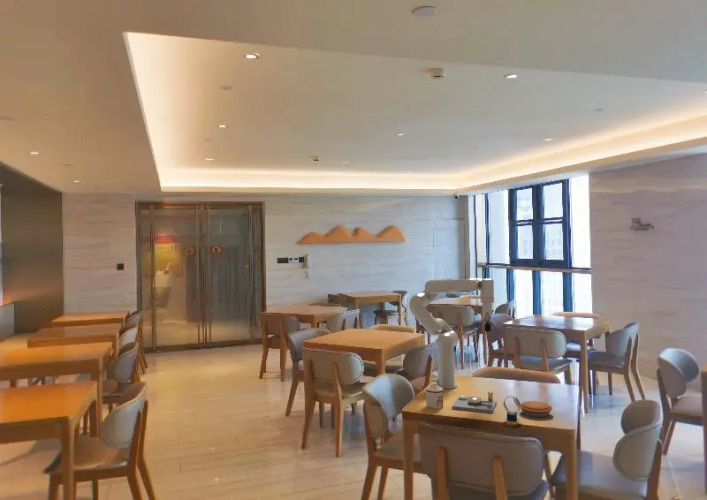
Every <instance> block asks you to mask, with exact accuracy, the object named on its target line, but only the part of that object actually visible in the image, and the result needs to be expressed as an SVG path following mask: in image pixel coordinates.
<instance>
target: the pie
mask: <svg viewBox="0 0 707 500" xmlns="http://www.w3.org/2000/svg"><path fill="white" fill-rule="evenodd" d="M520 404H521V407H520V409H521V412H522V414H524V415H526V416H527V417H532V418H546V417H547V416H549V414H550V412H552V410H553V407H552V406H551V405H549V404H547V403H545V402H541V401H533V400H532V401H531V400H530V401H523V402H520Z"/></svg>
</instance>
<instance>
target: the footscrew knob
mask: <svg viewBox="0 0 707 500" xmlns="http://www.w3.org/2000/svg"><path fill="white" fill-rule="evenodd" d="M467 398H468V403H470V404H481V403H488V404H492V403H493V400H494V393H493V391H488V392H487V399H484V400H482V399H483V398H482V397H479V396H467Z"/></svg>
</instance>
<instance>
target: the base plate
mask: <svg viewBox="0 0 707 500" xmlns="http://www.w3.org/2000/svg"><path fill="white" fill-rule="evenodd" d="M482 400H485V399H484V398H482ZM496 406H497V400H494V399H493V403H492V404H488V403H481V404H470V403H468V396H467V395H458V397H457V399H456V400H455V401H454V403H453V404H452V406H451V409H452V410H459V411H468V412H479V413H485V414H486V413H487V414H493V413H494V410H495V408H496Z"/></svg>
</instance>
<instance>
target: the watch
mask: <svg viewBox="0 0 707 500" xmlns="http://www.w3.org/2000/svg"><path fill="white" fill-rule="evenodd" d="M509 398H512V399H513V402H514V404H515V405H516V406H515V407H517V408H518V409H517V410H510V409H509V407H508V406H507V404H506V400H507V399H509ZM502 405H503V407H504V410H505V411H506V421H509V422H517V420H518V412H520V409H521V408H520V407H521V402H520V400H519V399H518V397H517V396H515V395H507V396H505V398H504V400H503V403H502Z"/></svg>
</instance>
